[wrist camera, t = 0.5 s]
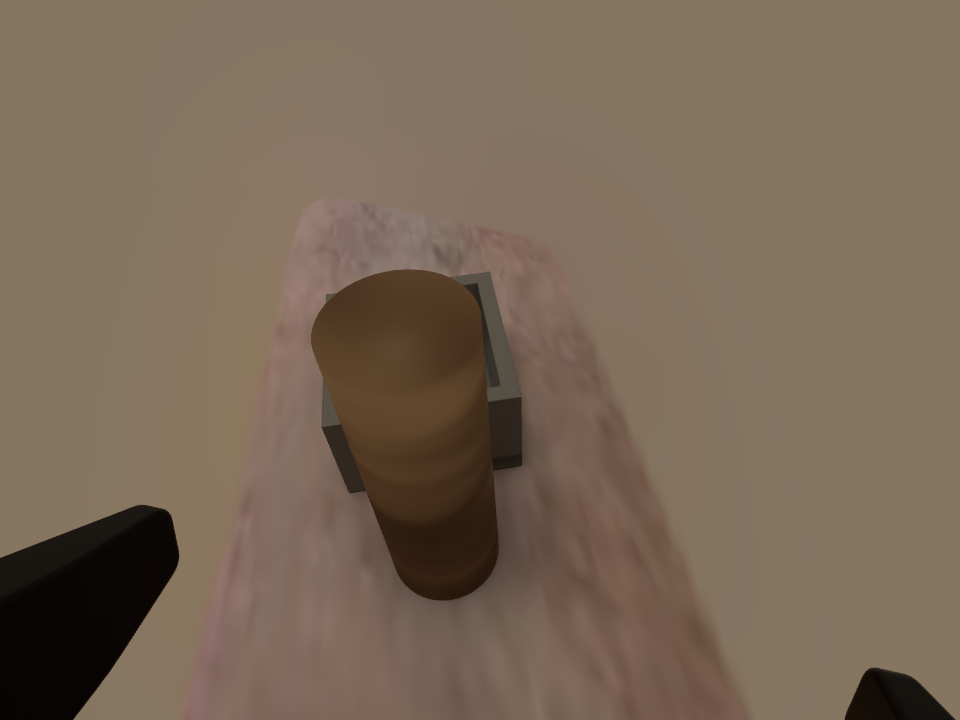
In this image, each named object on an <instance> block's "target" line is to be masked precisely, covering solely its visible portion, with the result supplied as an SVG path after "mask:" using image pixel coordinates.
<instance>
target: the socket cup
mask: <svg viewBox="0 0 960 720" xmlns="http://www.w3.org/2000/svg"><path fill="white" fill-rule="evenodd" d="M449 278H452V279H453V280H455V281H457V282H459V283H460V284H462V285H463V286H464V287H466V288H467V289H468V290H469V291H470V292H471V294H472V295H473V296H474V298H475V299H476V301H477V303H478V305H479V307H480V311H481V317H482V329H483V343H484V356H485V370H486V383H487V397H488V411H489V424H490V438H491V451H492V465H493V470H495V469H502V468H508V467H514V466H520V465H522V422H521V394H520V390H519V386H518V382H517V378H516V374H515V370H514V366H513V362H512V358H511V354H510V350H509V346H508V342H507V338H506V334H505V330H504V326H503V323H502V319H501V315H500V311H499V307H498V303H497V299H496V295H495V291H494V287H493V283H492V279H491V275H490V272H485V273H478V274H470V275H463V276H456V277H449ZM336 294H337V293H334V294H327V295H326V303H327V302H328V301H329V300H330V299H331V298H332V297H333V296H335V295H336ZM322 430H323V432H324V434H325V437H326V439H327V441H328V444H329V446H330V448H331V451H332V453H333V456H334V458H335V460H336V463H337V465H338V467H339V470H340V472H341V475H342V477H343V479H344V482H345V484H346V486H347V489H348V491H349V493H351V492H358V491H364V490H366V489H365V486H364V484H363V481H362V479H361V476H360V473H359V471H358V468H357V465H356V463H355V460H354V457H353V455H352V452H351V450H350V447H349V444H348V442H347V439H346V436H345V434H344V431H343V428H342V426H341V423H340V421H339V418H338V415H337V413H336V410H335V407H334V405H333V402H332V400H331V397H330V394H329V392H328V389H327V386H326V384H325V381H324V378H323V400H322Z"/></svg>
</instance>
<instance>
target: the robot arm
mask: <svg viewBox="0 0 960 720" xmlns="http://www.w3.org/2000/svg"><path fill="white" fill-rule="evenodd" d="M178 561H179V550H178V545H177V540H176V535H175V531H174V526H173V520H172V517H171V515H170V514H169V512H168V511H166V510H165V509H161V508H156V507H152V506H147V505H138V506H134V507H131V508H129V509H126V510H124V511H121V512H118V513H116V514H113V515H111V516H108V517H105V518H103V519H100V520H98V521H95V522H92V523H90V524H88V525H85V526H82V527H80V528H77V529H74V530H72V531H69V532H67V533H64V534H61V535H59V536H56V537H54V538H51V539H48V540H46V541H43V542H40V543H38V544H35V545H33V546H30V547H28V548H25V549H22V550H20V551H17V552H14V553H12V554H10V555H7V556H4V557H1V558H0V720H73V719H74V718H75V717H76V715H77V714H78V713H79V712H80V710H81V709H82V708H83V706H84V705H85V704H86V702H87V701H88V700H89V698H90V697H91V696H92V695H93V693H94V692H95V691H96V689H97V688H98V687H99V685H100V684H101V683H102V681H103V680H104V679H105V677H106V676H107V675H108V673H109V672H110V671H111V669H112V668H113V666H114V665H115V663H116V661H117V660H118V659H119V657H120V656H121V654H122V653H123V651H124V650H125V648H126V646H127V645H128V643H129V642H130V640H131V639H132V637H133V636H134V634H135V633H136V631H137V630H138V628H139V626H140V625H141V623H142V622H143V620H144V619H145V617H146V616H147V614H148V612H149V611H150V609H151V608H152V606H153V605H154V603H155V602H156V600H157V599H158V597H159V595H160V594H161V592H162V591H163V589H164V588H165V586H166V585H167V583H168V582H169V580H170V578H171V577H172V575H173V574H174V572H175V570H176V568H177V565H178ZM845 720H955V719H954V718H953V717H952V716H951V715H950V714H949V713H948V712H947V711H946V709H945V708H944V707H942V706H941V704H939V703H938V702H937V700H936V699H935V698H934V697H933V696H932V695H931V694H930V693H929V692H928V691H927V690H926V689H925V688H924V687H923V686H922V685H921V684H920V683H919V682H918V681H917V680H915V679H914V678H912V677H911V676H908V675H906V674H902V673H898V672H893V671H889V670H884V669H880V668H870V669H868V670H867V671H866V672H865V673H864V675H863V677H862V679H861V681H860V683H859V685H858V688H857V690H856V692H855V695H854V697H853V699H852V702H851V704H850V706H849V708H848V710H847V713H846V716H845Z"/></svg>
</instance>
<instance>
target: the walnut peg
mask: <svg viewBox="0 0 960 720" xmlns="http://www.w3.org/2000/svg"><path fill="white" fill-rule="evenodd" d="M311 344H312V348H313V352H314V355H315V357H316V360H317V363H318V365H319V368H320V371H321V373H322V376H323V378H324V381H325V384H326V386H327V389H328V392H329V394H330V397H331V400H332V402H333V405H334V407H335V410H336V413H337V415H338V418H339V421H340V423H341V426H342V428H343V431H344V434H345V436H346V439H347V442H348V444H349V447H350V450H351V452H352V455H353V457H354V460H355V463H356V465H357V468H358V471H359V473H360V476H361V479H362V481H363V484H364V486H365V489H366V492H367V494H368V497H369V500H370V502H371V505H372V507H373V510H374V513H375V515H376V518H377V521H378V523H379V526H380V529H381V531H382V534H383V536H384V539H385V542H386V544H387V547H388V550H389V552H390V555H391V557H392V560H393V563H394V565H395V568H396V570H397V573H398V575H399V577H400V578H401V580H402V581H403V582H404V584H405V585H406V586H407V587H408V588H409V589H411V590H412V591H413V592H415V593H416V594H418V595H420V596H423V597H426V598H429V599H434V600H452V599H456V598H460V597H463V596H465V595H467V594H469V593H471V592H473V591H474V590H476V589H477V588H478V587H479V586H481V585H482V584H483V583H484V582H485V581H486V579H487V578H488V577H489V575H490V574H491V572H492V570H493V568H494V566H495V563H496V560H497V556H498V533H497V519H496V506H495V492H494V478H493V465H492V451H491V438H490V424H489V411H488V397H487V383H486V370H485V356H484V343H483V329H482V317H481V311H480V307H479V305H478V303H477V301H476V299H475V298H474V296H473V295H472V294H471V292H470V291H469V290H468V289H467V288H466V287H464V286H463V285H462V284H460V283H459V282H457V281H455V280H453V279H452V278H449V277H447V276H444V275H442V274H438V273H435V272H430V271H424V270H394V271H388V272H383V273H379V274H375V275H372V276H369V277H366V278H363V279H361V280H359V281H356V282H354V283H352V284H351V285H349V286H347V287H345V288H344V289H342V290H341V291H340V292H338V293H337V294H336V295H335V296H333V297H332V298H331V299H330V300H329V301H328V302H327V303H326V304H325V305H324V307H323V308H322V309H321V311H320V312H319V314H318V316H317V318H316V320H315V322H314V325H313V328H312V334H311Z"/></svg>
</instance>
